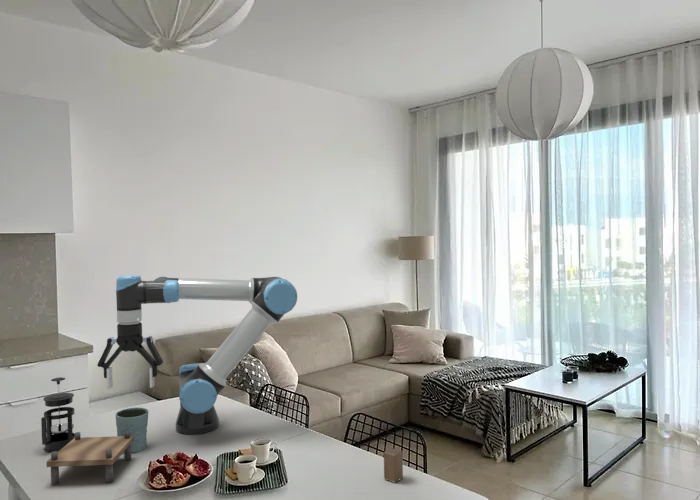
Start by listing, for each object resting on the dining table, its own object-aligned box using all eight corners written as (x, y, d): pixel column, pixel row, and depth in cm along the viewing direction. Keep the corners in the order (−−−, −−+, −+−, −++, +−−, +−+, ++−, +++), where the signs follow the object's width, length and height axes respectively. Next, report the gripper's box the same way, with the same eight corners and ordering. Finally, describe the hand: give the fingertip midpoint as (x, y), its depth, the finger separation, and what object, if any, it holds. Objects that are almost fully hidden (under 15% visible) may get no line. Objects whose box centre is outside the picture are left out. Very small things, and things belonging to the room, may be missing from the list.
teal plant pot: (124, 442, 186) (123, 407, 185) (154, 442, 185) (153, 407, 185) (110, 454, 175) (109, 417, 175) (141, 454, 175) (140, 417, 175)
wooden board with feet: (134, 457, 173) (133, 429, 172) (112, 483, 155) (112, 452, 154) (75, 459, 172) (74, 431, 171) (47, 486, 154) (46, 454, 153)
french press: (62, 439, 189) (60, 373, 188) (84, 442, 186) (82, 375, 185) (32, 452, 178) (30, 382, 177) (55, 455, 175) (53, 384, 174)
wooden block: (391, 474, 158) (391, 447, 158) (403, 478, 156) (403, 450, 155) (383, 479, 155) (383, 451, 155) (395, 483, 152) (394, 455, 152)
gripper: (171, 320, 184) (172, 382, 184) (95, 321, 182) (96, 385, 183) (165, 323, 176) (166, 389, 177) (85, 325, 175) (87, 391, 175)
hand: (131, 387), depth 180 cm, fingers open, 13 cm apart
